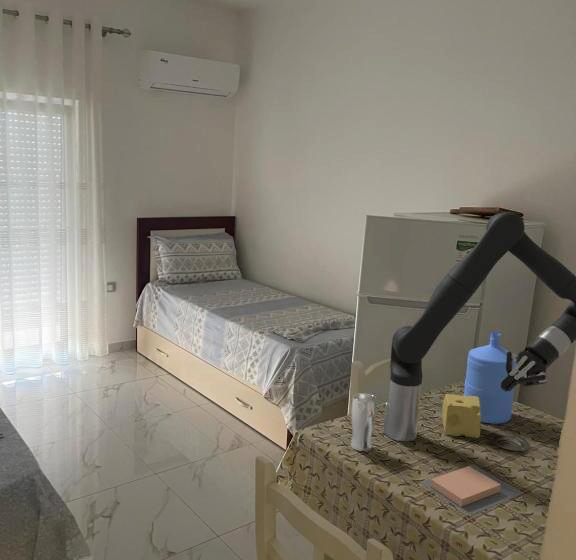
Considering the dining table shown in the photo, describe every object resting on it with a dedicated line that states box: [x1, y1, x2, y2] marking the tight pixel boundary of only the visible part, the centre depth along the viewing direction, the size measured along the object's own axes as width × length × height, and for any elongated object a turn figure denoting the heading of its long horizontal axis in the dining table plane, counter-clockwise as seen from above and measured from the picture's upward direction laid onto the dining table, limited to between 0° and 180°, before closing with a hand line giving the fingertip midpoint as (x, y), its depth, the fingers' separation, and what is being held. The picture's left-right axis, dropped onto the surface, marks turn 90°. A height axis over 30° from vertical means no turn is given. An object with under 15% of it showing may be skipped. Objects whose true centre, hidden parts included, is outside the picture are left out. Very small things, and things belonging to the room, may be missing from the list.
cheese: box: [441, 393, 482, 439], centre depth 177 cm, size 10×11×10 cm
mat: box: [419, 463, 524, 516], centre depth 144 cm, size 16×20×1 cm
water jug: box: [463, 332, 517, 425], centre depth 188 cm, size 16×16×28 cm
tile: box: [430, 465, 501, 507], centre depth 143 cm, size 10×2×14 cm
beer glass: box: [350, 392, 377, 452], centre depth 163 cm, size 7×7×15 cm
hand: (503, 388), depth 152 cm, fingers closed
